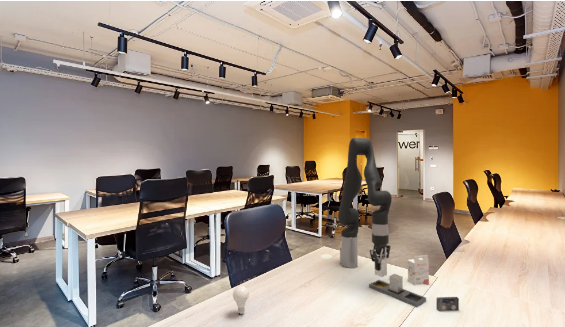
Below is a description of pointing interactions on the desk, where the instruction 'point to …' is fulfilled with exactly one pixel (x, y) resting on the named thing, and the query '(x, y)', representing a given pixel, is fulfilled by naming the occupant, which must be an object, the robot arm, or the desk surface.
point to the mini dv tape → (447, 303)
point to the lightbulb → (241, 298)
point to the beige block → (396, 284)
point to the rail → (404, 296)
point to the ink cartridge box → (418, 270)
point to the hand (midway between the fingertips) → (380, 268)
